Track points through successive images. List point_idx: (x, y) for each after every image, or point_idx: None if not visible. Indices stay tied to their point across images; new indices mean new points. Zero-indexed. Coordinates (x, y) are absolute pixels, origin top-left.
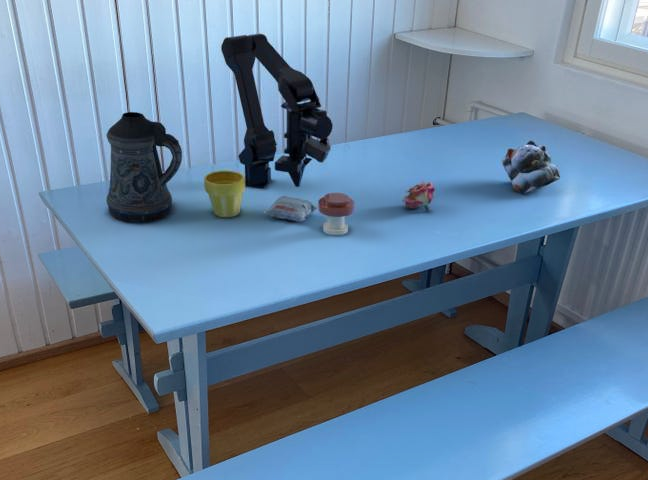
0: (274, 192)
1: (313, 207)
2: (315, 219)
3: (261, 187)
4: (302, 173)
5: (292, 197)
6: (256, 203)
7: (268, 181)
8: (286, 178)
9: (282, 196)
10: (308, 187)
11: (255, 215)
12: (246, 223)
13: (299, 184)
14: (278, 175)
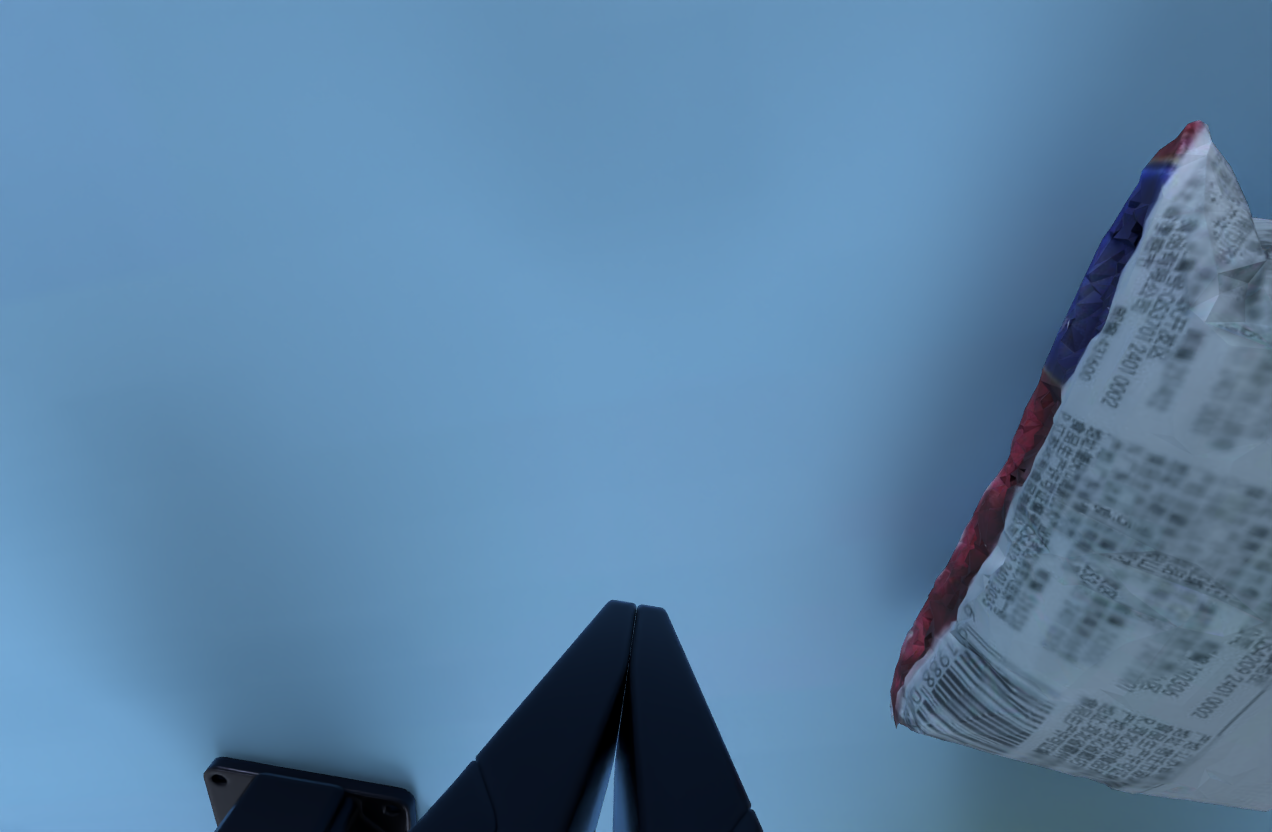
0: (456, 705)
1: (1234, 192)
2: (1233, 122)
3: (414, 808)
4: (540, 800)
5: (1190, 642)
6: (762, 802)
7: (313, 803)
8: (87, 653)
9: (1031, 752)
10: (161, 424)
11: (1061, 785)
12: (1269, 828)
13: (656, 631)
14: (71, 717)
